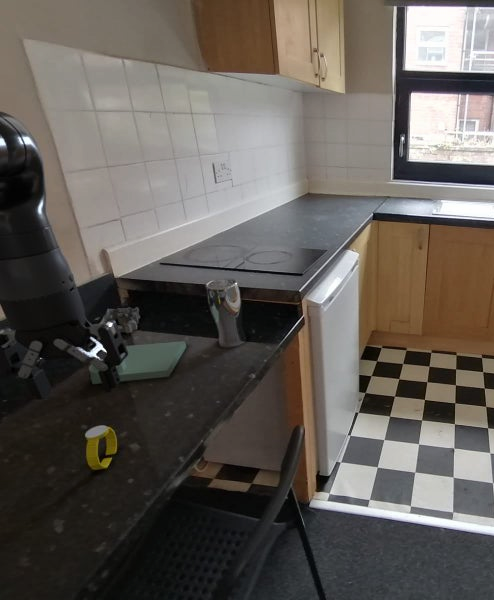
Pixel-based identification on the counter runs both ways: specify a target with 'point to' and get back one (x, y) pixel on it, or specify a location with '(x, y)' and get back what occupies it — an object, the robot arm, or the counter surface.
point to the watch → (92, 446)
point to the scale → (146, 361)
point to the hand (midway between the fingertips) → (79, 392)
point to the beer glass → (226, 311)
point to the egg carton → (123, 318)
